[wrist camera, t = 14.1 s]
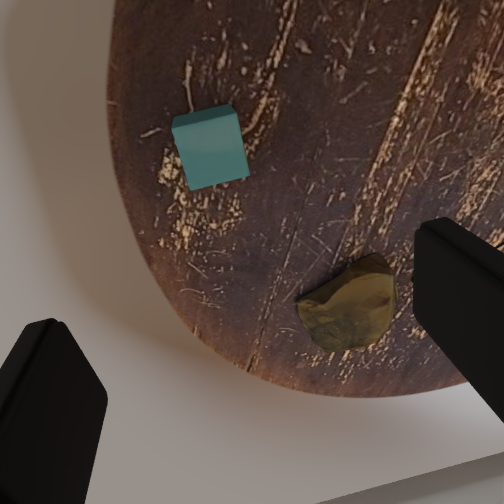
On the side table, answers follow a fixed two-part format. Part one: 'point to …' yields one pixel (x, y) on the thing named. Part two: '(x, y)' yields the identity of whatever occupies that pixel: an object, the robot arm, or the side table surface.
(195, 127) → the block
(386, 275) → the decorative stone
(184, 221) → the side table surface
